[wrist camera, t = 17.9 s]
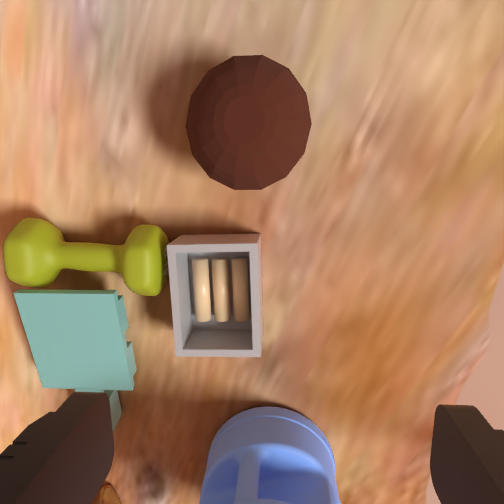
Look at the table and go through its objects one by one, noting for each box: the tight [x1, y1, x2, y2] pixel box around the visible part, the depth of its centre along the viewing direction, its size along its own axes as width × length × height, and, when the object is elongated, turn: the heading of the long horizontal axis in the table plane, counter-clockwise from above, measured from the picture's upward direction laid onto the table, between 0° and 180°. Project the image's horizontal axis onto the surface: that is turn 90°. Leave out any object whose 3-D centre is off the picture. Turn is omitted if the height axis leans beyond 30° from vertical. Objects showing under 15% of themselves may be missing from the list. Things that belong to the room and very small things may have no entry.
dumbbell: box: [3, 218, 169, 296], centre depth 43 cm, size 16×8×7 cm, turn 87°
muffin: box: [186, 55, 311, 190], centre depth 37 cm, size 12×11×10 cm
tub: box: [167, 233, 263, 357], centre depth 43 cm, size 12×9×6 cm
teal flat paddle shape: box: [13, 289, 137, 431], centre depth 45 cm, size 19×11×3 cm, turn 1°
